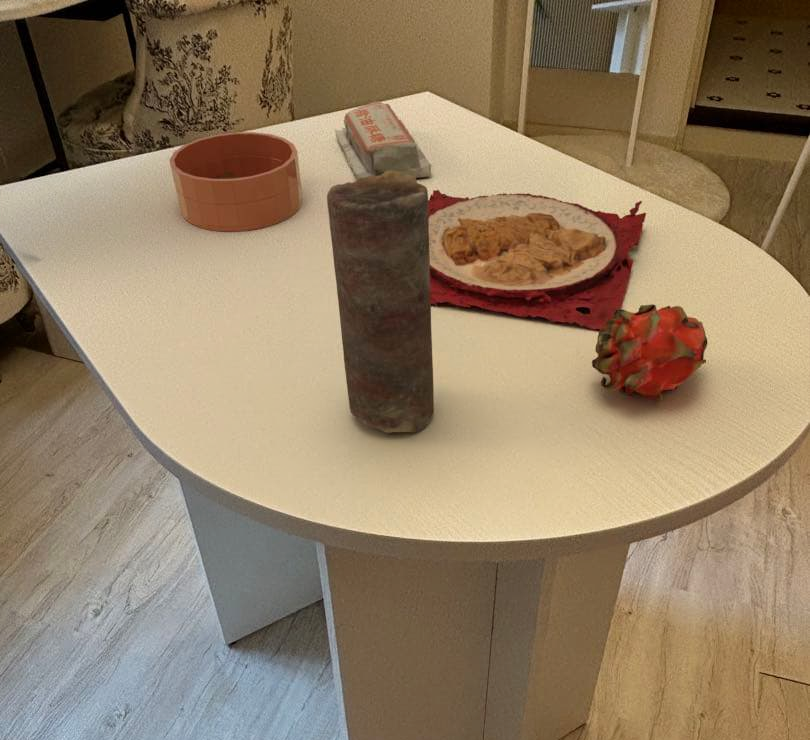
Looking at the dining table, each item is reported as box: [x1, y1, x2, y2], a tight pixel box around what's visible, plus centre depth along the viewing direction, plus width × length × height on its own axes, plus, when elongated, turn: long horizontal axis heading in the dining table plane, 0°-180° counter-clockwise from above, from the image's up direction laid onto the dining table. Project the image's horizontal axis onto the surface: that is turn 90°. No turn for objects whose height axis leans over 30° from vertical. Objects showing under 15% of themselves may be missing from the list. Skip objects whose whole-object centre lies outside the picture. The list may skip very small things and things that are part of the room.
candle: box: [326, 170, 435, 434], centre depth 63 cm, size 8×7×20 cm
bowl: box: [169, 131, 303, 232], centre depth 98 cm, size 15×15×6 cm
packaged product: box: [334, 101, 432, 180], centre depth 108 cm, size 18×5×10 cm
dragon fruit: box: [591, 303, 708, 404], centre depth 69 cm, size 8×8×12 cm
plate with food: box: [428, 189, 647, 331], centre depth 87 cm, size 24×26×3 cm
